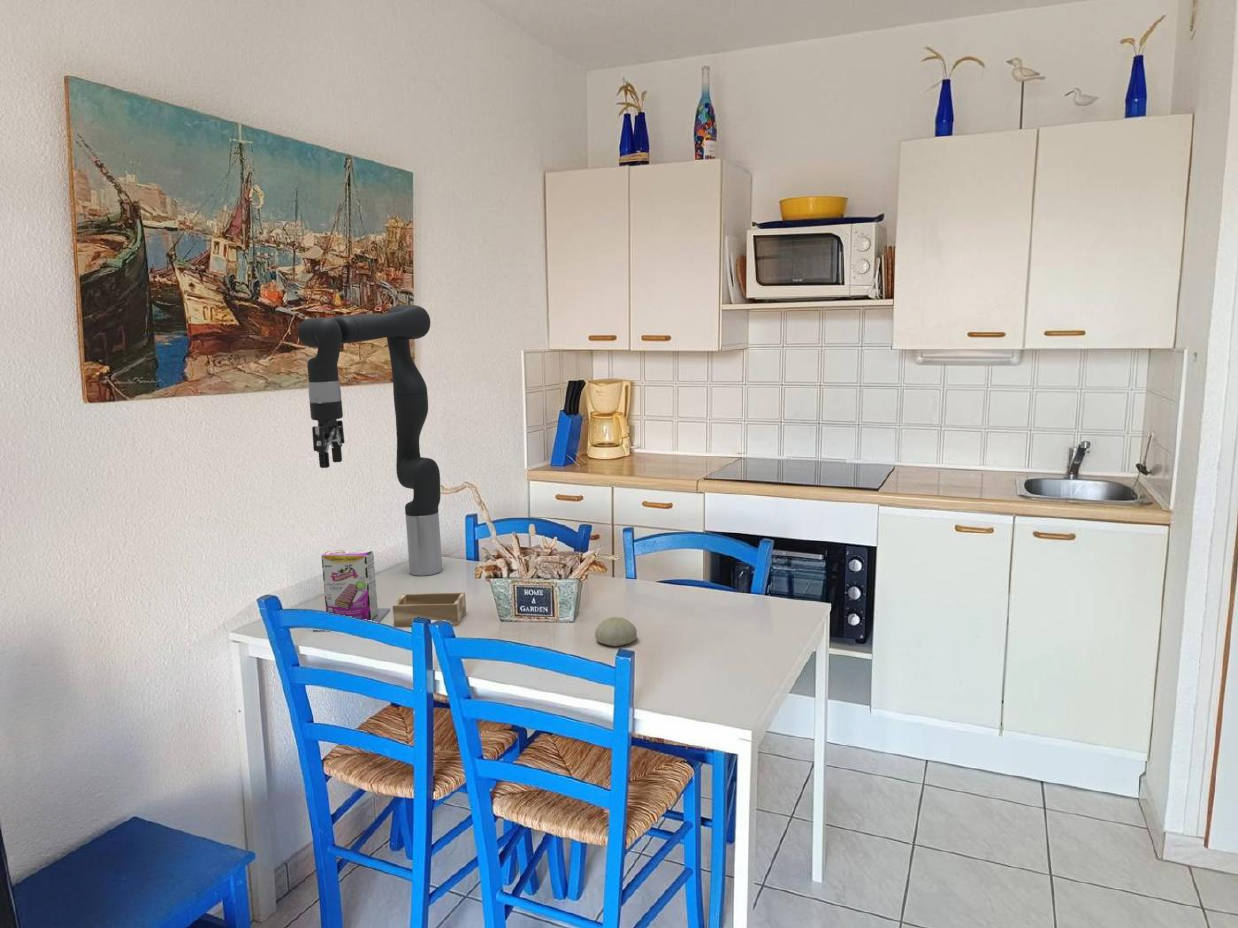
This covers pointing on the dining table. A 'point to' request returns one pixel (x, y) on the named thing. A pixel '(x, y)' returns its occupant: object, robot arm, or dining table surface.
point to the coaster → (379, 614)
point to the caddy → (429, 607)
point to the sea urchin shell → (615, 632)
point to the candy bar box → (350, 583)
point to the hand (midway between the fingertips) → (331, 464)
